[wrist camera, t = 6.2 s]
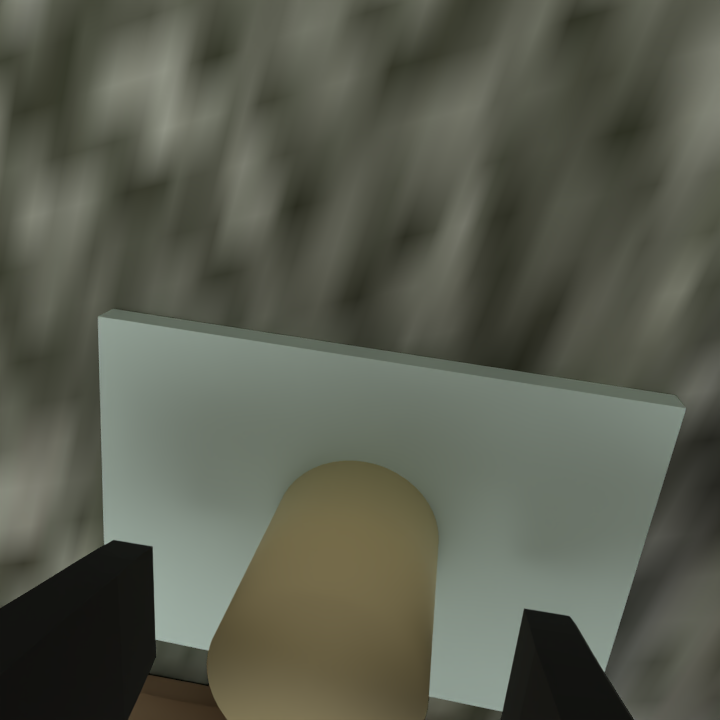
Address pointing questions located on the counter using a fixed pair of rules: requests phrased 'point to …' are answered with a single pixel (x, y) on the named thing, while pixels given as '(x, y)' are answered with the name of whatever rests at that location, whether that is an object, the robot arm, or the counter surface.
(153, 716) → the box
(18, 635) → the robot arm
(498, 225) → the counter surface
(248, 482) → the lid
